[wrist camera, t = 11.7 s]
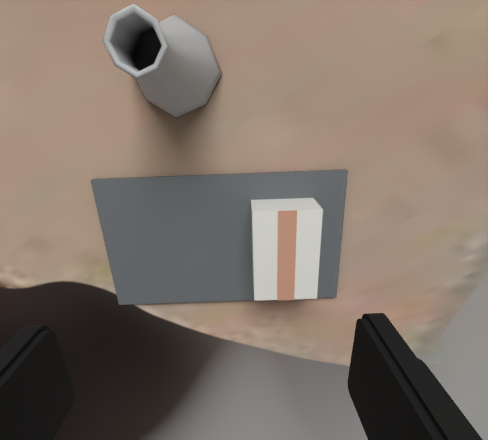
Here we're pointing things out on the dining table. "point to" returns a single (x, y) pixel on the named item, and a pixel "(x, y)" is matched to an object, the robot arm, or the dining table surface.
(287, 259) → the card deck
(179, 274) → the mat
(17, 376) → the robot arm
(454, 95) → the dining table surface
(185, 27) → the flask
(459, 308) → the dining table surface
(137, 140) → the dining table surface
